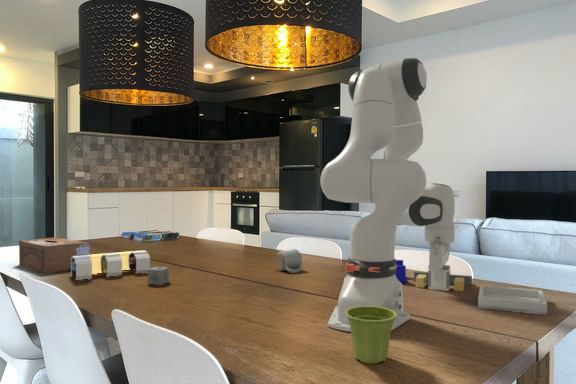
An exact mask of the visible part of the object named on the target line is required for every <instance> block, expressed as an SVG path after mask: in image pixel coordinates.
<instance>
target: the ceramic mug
mask: <svg viewBox="0 0 576 384" xmlns="http://www.w3.org/2000/svg"><path fill="white" fill-rule="evenodd" d="M274 258H275V260H274V262H275V263H274V264H275V266H276V269H278V271H280V272H289V273H291V274H299V273H300V272H301V271H302V264H303V260H302V255H301V253H300V251H299V250H298V249H295V248H294V249H290V250H284V251H283V250H282V251H279V252H278V253H276V255H275V257H274ZM298 272H299V273H298Z"/></svg>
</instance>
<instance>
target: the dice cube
mask: <svg viewBox="0 0 576 384" xmlns="http://www.w3.org/2000/svg"><path fill="white" fill-rule="evenodd" d="M169 279H170V267H167V266H166V267H165V266H154V267H150V269H148V273H147V285H148V284H155V285H154V286H164V285H166V284H168V283H169V282H170V280H169ZM167 282H168V283H167ZM165 283H166V284H165ZM163 284H164V285H163Z"/></svg>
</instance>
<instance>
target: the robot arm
mask: <svg viewBox="0 0 576 384" xmlns="http://www.w3.org/2000/svg"><path fill="white" fill-rule="evenodd" d="M427 80H428V79H427V71H426V69H425V67H424V64H423V62H422V61H420V60H419V59H418V58H416V57H410V58H409V57H408V58H404V59H403V60H395V61H390V62H383V63H379V64H375V65H373V66H370V67H368V68H365V69H359V70H358V71H355V72H354V73H352V75H351V76H350V78H349V80H348V87H347V88H348V94H349V98H350V99H351V101H352V111H351V112H352V113H351V114H352V115H351V126H350V134H349V138H348V141H347V143H346V145H345V146H344V148H343V150H342V151H341V152H340V153H339V154H338V155H337V156H336V157H335V158H334V159H332V160H331V161H329V162H328V163H327V164H326V165H325V166H324V167H323V169H322V172H321V174H320V177H319V178H320V180H319V182H320V188H321V190H322V192H323V194H324V195H325V197H326V198H327V199H328V200H332V201H335V202H341V203H345V204H347V203H349V204H350V203H352V204H353V203H354V204H355V203H356V204H362V203H364V204H374V206H375V208H374V210H373V211H372V213H370V214H368V215H365V216H364V217H362V218H359V219H357V220H356V221H355V222H353V224H351V227H350V229H349V257H348V258H347V262H346V263H345V267H344V269H345V272H346V274H347V275H346V276H345V277H344V278H343V283H342V286H341V290H340V293H339V295H338V296H339V297H338V301H337V305H336V306H335V307H334V309H333V311H332V313H331V316H330V318H329V320H328V321H327V326H328V327H330V328H332V329H335V330H339V331H344V332H350V333H351V328H350V323H349V321H348V317H347V316H346V311H347V310H348V309H350V308H353V307H359V306H375V307H382V308H387V309H390V310H392V311H394V312H395V313H396V318H395V319H394V322H393V325H392V328H391V332H392V331H393V330H394V331H395V329H397V328H398V327H400V326H402V325H403V324H404V323H406V322H407V321H409V320H410V319H411V315H410V314H409V313H408V312H405V311H404V299H403V298H404V296H403V295H404V294H403V284H402V283H401V282H400V281H399V280H398V279H397V278H396V276H395V274H396V268H397V264H396V260H397V259H396V258H395V245H396V244H395V243H396V234H397V227H398V225H399V226H408V227H409V226H410V227H424V241H425V242H428V247H429V252H428V253H429V255H428V259H429V260H428V266H429V268H430V270H434V274H435V281H436V282H441V271H442V269H443V267H444V266H445V265H447V262H448V261H449V258H450V252H451V243H454V242H455V230H456V229H455V223H454V217H455V211H456V210H455V209H456V205H455V204H456V203H455V202H456V201H455V194H454V190H453V188H452V187H451V186H449V185H447V184H443V183H435V182H433V183H427V176H426V172H425V170H424V168H423V167H422V165H421V164H420V163H419V162H417V161H413V160H410V159H409V158H410V157H411V156H413V154H415V153H416V152H417V151H418V150H420V148H421V146H422V145H423V142H424V128H423V122H422V116H421V112H420V107H419V104H418V100H419V98H420V96H421V95H422V94H423V93H424V91H425V89H426V87H427ZM382 149H384V151H383V158H372V156H373V155H374V154H375V153H377V152H378V151H380V150H382ZM408 159H409V160H408Z"/></svg>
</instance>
